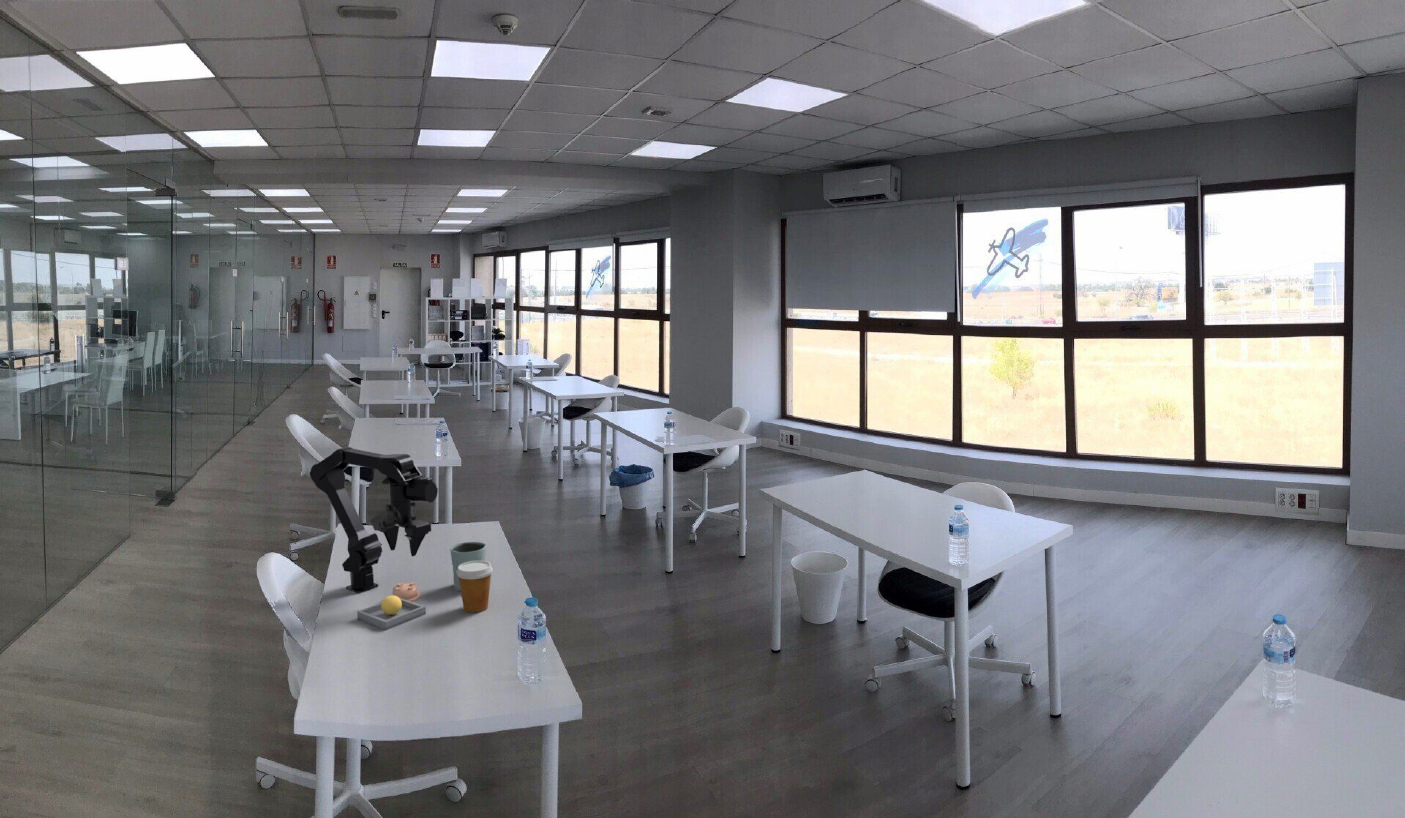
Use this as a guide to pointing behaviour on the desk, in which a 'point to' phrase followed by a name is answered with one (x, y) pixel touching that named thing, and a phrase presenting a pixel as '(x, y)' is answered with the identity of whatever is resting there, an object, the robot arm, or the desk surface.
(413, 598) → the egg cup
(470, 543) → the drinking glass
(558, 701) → the desk surface
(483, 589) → the disposable coffee cup
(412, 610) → the tray
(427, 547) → the desk surface
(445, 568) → the desk surface
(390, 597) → the ball
